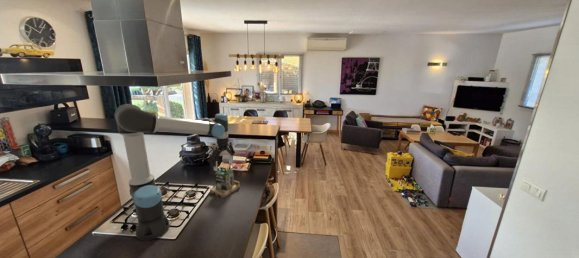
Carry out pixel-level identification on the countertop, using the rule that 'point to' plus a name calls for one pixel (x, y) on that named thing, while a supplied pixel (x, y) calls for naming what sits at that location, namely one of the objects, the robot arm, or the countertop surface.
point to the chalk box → (224, 179)
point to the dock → (223, 192)
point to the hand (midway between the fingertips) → (223, 167)
